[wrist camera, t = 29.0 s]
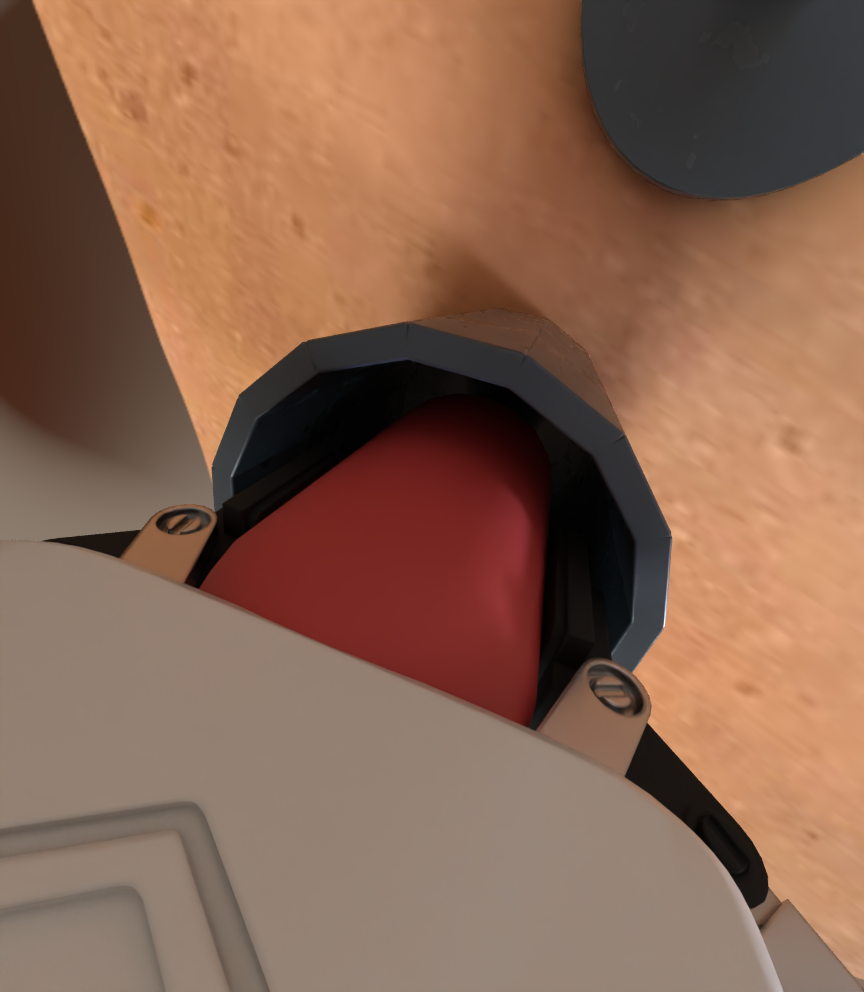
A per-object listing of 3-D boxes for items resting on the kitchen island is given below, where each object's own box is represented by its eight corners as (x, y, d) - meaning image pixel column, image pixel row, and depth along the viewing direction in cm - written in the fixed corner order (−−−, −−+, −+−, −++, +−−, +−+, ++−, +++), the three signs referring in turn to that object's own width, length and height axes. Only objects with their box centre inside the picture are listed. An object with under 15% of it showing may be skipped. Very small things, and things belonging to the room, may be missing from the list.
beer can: (365, 484, 18) (84, 751, 7) (440, 352, 14) (109, 506, 4) (487, 569, 18) (379, 951, 7) (591, 457, 14) (658, 879, 4)
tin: (414, 285, 21) (195, 264, 8) (647, 344, 19) (808, 429, 7) (381, 483, 27) (222, 643, 14) (557, 542, 25) (552, 786, 12)
